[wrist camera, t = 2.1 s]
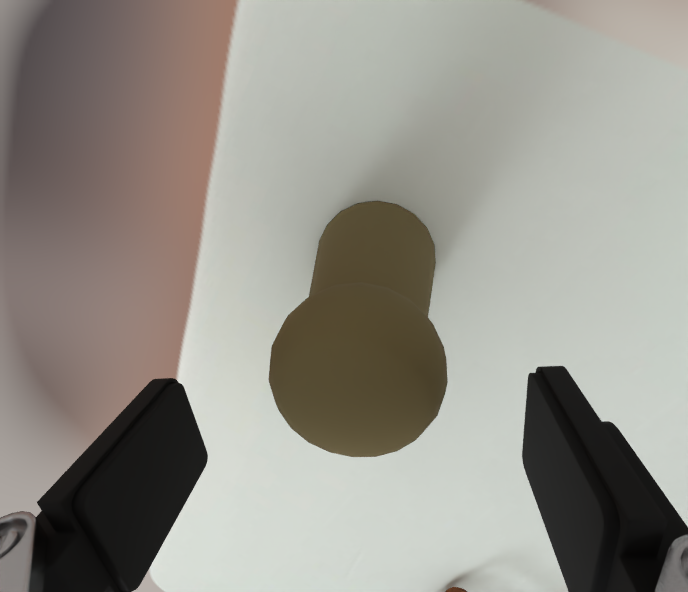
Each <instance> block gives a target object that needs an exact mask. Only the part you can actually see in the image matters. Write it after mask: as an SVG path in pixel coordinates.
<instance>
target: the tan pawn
mask: <svg viewBox="0 0 688 592" xmlns="http://www.w3.org/2000/svg"><path fill="white" fill-rule="evenodd" d="M435 263H436V262H435V247H434V243H433V241H432V238H431V236H430V234H429V231H428V229H427V227H426V226H425V225H424V224H423V223H422V222H421V221H420V220H419V219H418V218H417V217H416V215H415V214H413V213H411V212H410V211H408V210H406V209H404V208H402V207H401V206H399V205H397V204H392V203H386V202H381V201H372V202H365V203H358V204H356V205H354V206H351V207H349V208H347V209H345V210H343V211H341V212H340V213H339V214H338V215H337V216H336V217H335V218H334V219H333V220H332V221H331V222H330V223H329V224H328V225H327V226H326V228H325V230H324V232H323V234H322V236H321V238H320V240H319V245H318V251H317V256H316V261H315V267H314V272H313V278H312V283H311V288H310V294H309V298H307V299H306V300H305V301H304V302H302V303H301V304H300V305H299V306H298V307H297V308H296V309H295V310H294V311H292V312H291V313H290V314H289V315H288V316H287V318H286V320H285V322H284V323H283V325H282V327H281V329H280V331H279V333H278V335H277V337H276V339H275V341H274V343H273V345H272V350H271V359H270V371H269V383H270V386H271V389H272V393H273V396H274V399H275V402H276V405H277V407H278V410H279V412H280V413H281V414H282V416H283V417H284V419H285V420H286V421H287V423H288V424H289V426H290V427H291V428H292V429H293V430H294V431H295V432H297V433H298V434H299V435H300V436H301V437H303V438H304V439H305V440H306V441H308V442H309V443H311V444H313V445H316V446H318V447H320V448H322V449H324V450H326V451H328V452H332V453H336V454H341V455H345V456H350V457H376V456H380V455H384V454H388V453H391V452H395V451H398V450H400V449H401V448H403V447H405V446H407V445H408V444H410V443H412V442H413V441H415V440H416V439H417V438H418V437H419V436H420V435H421V434H422V433H423V432H424V430H425V429H426V428H427V427H428V426H429V425H430V423H431V422H432V421H433V420H434V419H435V418H436V417H437V415H438V412H439V409H440V406H441V404H442V401H443V398H444V395H445V391H446V387H447V366H446V356H445V351H444V347H443V344H442V342H441V340H440V338H439V336H438V334H437V332H436V330H435V327H434V325H433V324H432V322H431V321H430V320H429V318H428V312H429V305H430V298H431V291H432V284H433V277H434V270H435Z"/></svg>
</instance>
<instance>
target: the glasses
mask: <svg viewBox="0 0 688 592" xmlns="http://www.w3.org/2000/svg"><path fill="white" fill-rule="evenodd" d="M445 592H467V591H466V590H464V589H462V588H458V587H452V588H449V589H448V590H446V591H445Z"/></svg>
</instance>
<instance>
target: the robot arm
mask: <svg viewBox="0 0 688 592" xmlns="http://www.w3.org/2000/svg"><path fill="white" fill-rule="evenodd" d="M207 458H208V455H207V451H206V448H205V445H204V442H203V439H202V437H201V434H200V431H199V428H198V426H197V423H196V420H195V417H194V414H193V412H192V409H191V406H190V403H189V401H188V398H187V395H186V392H185V389H184V387H183V385H182V384H180V383H178V381H177V380H176V379H173V378H168V379H154V380H152V381H151V382H149V384H148V385H147V386H146V387H145V388H144V389H143V390H142V391H141V392H140V393H139V394H138V395H137V396H136V398H135V399H134V400H133V401H132V402H131V403H130V404H129V405H128V406H127V407H126V408H125V409H124V410H123V411H122V412H121V414H119V416H118V417H117V418H116V419H115V420H114V421H113V422H112V423H111V424H110V425H109V426H108V427H107V428H106V429H105V430H104V431H103V433H102V434H101V435H100V436H99V437H98V438H97V439H96V440H95V441H94V442H93V443H92V444H91V445H90V446H89V447H88V449H87V450H86V451H85V452H84V453H83V454H82V455H81V456H80V457H79V458H78V459H77V460H76V461H75V462H74V463H73V464H72V466H71V467H70V468H69V469H68V470H67V471H66V472H65V473H64V474H63V475H62V476H61V477H60V478H59V480H58V481H57V482H56V483H55V484H54V485H53V486H52V487H51V488H50V489H49V490H48V491H47V492H46V493H45V495H43V496H42V497H41V499H40V500H39V501H38V502H37V503H38V505H39V506H40V508H41V510H42V511H41V512H40V514H39V515H38V516H37V517H35V516H34V515H33V514H32V513H30V512H24V511H21V512H16V513H11V514H8V515H6V516H3V517H1V518H0V592H132V591H134V590H136V589H137V588H138V587H139V585H140V584H141V582H142V580H143V578H144V577H145V575H146V573H147V571H148V569H149V568H150V566H151V564H152V562H153V560H154V559H155V557H156V555H157V553H158V551H159V550H160V548H161V546H162V544H163V542H164V540H165V539H166V537H167V535H168V533H169V531H170V530H171V528H172V526H173V524H174V522H175V521H176V519H177V517H178V515H179V513H180V512H181V510H182V508H183V506H184V504H185V502H186V501H187V499H188V497H189V495H190V493H191V492H192V490H193V488H194V486H195V484H196V483H197V481H198V479H199V477H200V475H201V474H202V472H203V470H204V468H205V466H206V464H207ZM522 458H523V464H524V468H525V472H526V474H527V477H528V480H529V483H530V485H531V488H532V491H533V494H534V497H535V499H536V502H537V505H538V508H539V510H540V513H541V516H542V519H543V522H544V524H545V527H546V530H547V533H548V535H549V538H550V541H551V544H552V547H553V549H554V552H555V555H556V558H557V560H558V563H559V566H560V569H561V572H562V574H563V577H564V580H565V583H566V585H567V588H568V591H569V592H688V527H687V526H686V524H685V523H684V521H683V520H682V518H681V517H680V516H679V514H678V513H677V511H676V510H675V509H674V507H673V506H672V504H671V503H670V502H669V500H668V499H667V497H666V496H665V494H664V493H663V492H662V490H661V489H660V487H659V486H658V485H657V483H656V482H655V480H654V479H653V477H652V476H651V475H650V473H649V472H648V470H647V469H646V468H645V466H644V465H643V463H642V462H641V460H640V459H639V458H638V456H637V455H636V453H635V452H634V451H633V449H632V448H631V446H630V445H629V444H628V442H627V441H626V439H625V438H624V436H623V435H622V434H621V432H620V431H619V429H618V428H617V427H616V426H615V425H614V424H613V423H611V422H601V420H600V419H599V417H598V416H597V414H596V413H595V411H594V410H593V408H592V407H591V405H590V404H589V402H588V401H587V399H586V398H585V396H584V395H583V393H582V392H581V390H580V389H579V387H578V386H577V384H576V383H575V381H574V380H573V378H572V377H571V375H570V374H569V372H568V371H567V369H566V368H565V367H563V366H549V367H538V368H537V369H536V373H530V374H529V376H528V386H527V399H526V412H525V425H524V438H523V451H522Z"/></svg>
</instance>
